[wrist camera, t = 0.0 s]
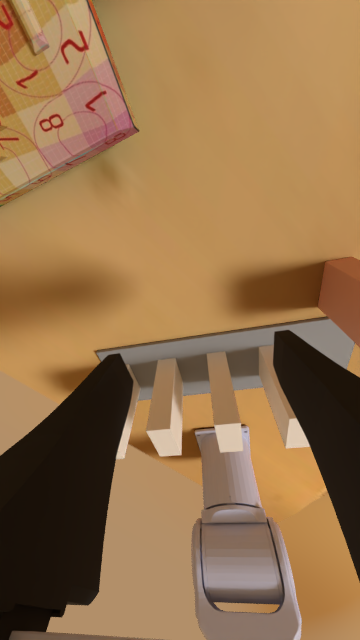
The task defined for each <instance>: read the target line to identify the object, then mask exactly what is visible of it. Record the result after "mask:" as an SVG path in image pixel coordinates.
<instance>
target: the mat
mask: <svg viewBox="0 0 360 640" xmlns="http://www.w3.org/2000/svg"><path fill="white" fill-rule="evenodd" d="M283 330H290V331H292V332H293V333H295V334H296V335H297V336H299V337H300V338H301V339H303V340H304V341H306V342H307V343H308V344H310V345H311V346H312V347H314V348H315V349H317V350H318V351H319V352H321V353H322V354H324V355H325V356H327V357H328V358H330V359H331V360H333V361H334V362H336V363H337V364H339V365H340V366H342V367H343V368H345V369H347V366H348V363H349V360H350V357H351V354H352V351H353V348H354V344H355V342H354V341H353V340H351V339H350V338H349V337H348V336H347V335H346V334H345V333H344V332H343V331H342V330H341V329H340V328H339V327H338V326H337V325H336V324H335V323H334V322H333V321H332V320H331V319H330V318H329V317H323V318H316V319H309V320H303V321H296V322H289V323H282V324H275V325H268V326H261V327H255V328H248V329H241V330H234V331H227V332H220V333H214V334H207V335H200V336H193V337H186V338H179V339H173V340H166V341H159V342H152V343H145V344H138V345H131V346H125V347H118V348H111V349H104V350H98V351H97V352H96V353H97V355H98V357H99V359H100V360H101V362H102V361H103V359H104V358H105V357H107V356H108V355H110V354H118V353H120V354H121V356H122V358H123V361H124V363H125V365H126V364H129V366H130V368H131V370H132V372H133V374H134V376H135V378H136V380H137V382H138V384H139V386H140V393H139V398H138V401H139V400H149V399H152V393H153V387H154V381H155V375H156V369H157V363H158V360H163V359H171V358H175V359H176V362H177V365H178V368H179V372H180V375H181V378H182V381H183V396H186V395H196V394H205V393H211V390H210V381H209V371H208V362H207V354H208V353H216V352H223V351H225V353H226V358H227V362H228V367H229V371H230V376H231V380H232V385H233V390H243V389H253V388H262V387H263V385H262V382H261V379H260V377H259V347H261V346H268V345H274V332H276V331H283Z"/></svg>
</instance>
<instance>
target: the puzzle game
mask: <svg viewBox="0 0 360 640" xmlns="http://www.w3.org/2000/svg"><path fill="white" fill-rule="evenodd" d="M137 132H139V128H138V126H137V123H136V120H135V118H134V115H133V112H132V109H131V107H130V104H129V101H128V98H127V96H126V93H125V90H124V87H123V85H122V82H121V79H120V76H119V74H118V71H117V68H116V66H115V63H114V60H113V57H112V55H111V52H110V49H109V46H108V44H107V41H106V38H105V35H104V33H103V30H102V27H101V25H100V22H99V19H98V16H97V14H96V11H95V8H94V5H93V3H92V0H0V206H2V205H4V204H6V203H8V202H10V201H12V200H13V199H15V198H17V197H19V196H21V195H23V194H24V193H26V192H28V191H30V190H32V189H34V188H36V187H37V186H39V185H41V184H43V183H45V182H47V181H48V180H50V179H52V178H54V177H56V176H58V175H60V174H61V173H63V172H65V171H67V170H69V169H71V168H72V167H74V166H76V165H78V164H80V163H82V162H83V161H85V160H87V159H89V158H91V157H93V156H95V155H96V154H98V153H100V152H102V151H104V150H106V149H107V148H109V147H111V146H113V145H115V144H117V143H119V142H120V141H122V140H124V139H126V138H128V137H130V136H131V135H133V134H135V133H137Z"/></svg>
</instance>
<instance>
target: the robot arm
mask: <svg viewBox="0 0 360 640" xmlns="http://www.w3.org/2000/svg"><path fill="white" fill-rule="evenodd" d="M273 367H274V370H275V373H276V375H277V378H278V381H279V384H280V386H281V388H282V390H283V392H284V394H285V396H286V398H287V400H288V402H289V404H290V406H291V408H292V410H293V412H294V414H295V416H296V418H297V420H298V422H299V424H300V426H301V428H302V430H303V432H304V434H305V436H306V438H307V441H308V443H309V445H310V447H311V450H312V452H313V455H314V457H315V460H316V462H317V465H318V467H319V470H320V472H321V475H322V477H323V480H324V483H325V485H326V488H327V491H328V493H329V496H330V498H331V501H332V504H333V506H334V509H335V512H336V515H337V518H338V521H339V523H340V526H341V529H342V532H343V534H344V537H345V540H346V543H347V546H348V549H349V552H350V554H351V558H352V561H353V563H354V566H355V569H356V572H357V575H358V578H359V581H360V378H359V377H358V376H356V375H355V374H353V373H351V372H350V371H348V370H346V369H345V368H343V367H342V366H340V365H339V364H337V363H336V362H334V361H333V360H331V359H330V358H328V357H327V356H325V355H324V354H322V353H321V352H319V351H318V350H317V349H315V348H314V347H312V346H311V345H310V344H308V343H307V342H306V341H304V340H303V339H301V338H300V337H299V336H297V335H296V334H295V333H293V332H292V331H290V330H283V331H276V332H274V351H273ZM133 382H134V381H133V379H132V377H131V375H130V373H129V371H128V369H127V367H126V365H125V363H124V361H123V358H122V356H121V354H120V353H118V354H110V355H108V356H107V357H105V358H104V359H103V361H102V362H101V363H100V364H99V365H98V366H97V367H96V368H95V369H94V370H93V371H92V372H91V373H90V374H89V375H88V377H87V378H86V379H85V380H84V381H83V382H82V383H81V384H80V385H79V386H78V387H77V388H76V389H75V390H74V391H73V392H72V393H71V394H70V395H69V396H68V397H67V398H66V399H65V400H64V401H63V402H62V403H61V404H60V405H59V406H58V407H57V408H56V409H55V410H54V411H53V412H52V413H51V414H50V415H49V416H48V417H47V418H45V419H44V420H43V421H42V422H41V423H40V424H39V425H38V426H36V427H35V428H34V429H33V430H32V431H31V432H29V433H28V434H27V435H26V436H25V437H24V438H22V439H21V440H20V441H19V442H17V443H16V444H15V445H13V446H12V447H11V448H9V449H8V450H7V451H6V452H4V453H3V454H2V455H1V456H0V640H161V639H145V638H130V637H113V636H99V635H84V634H68V633H67V634H66V633H52V632H46V630H47V627H48V624H49V620H50V617H62V616H63V615H64V612H65V608H66V605H68V604H69V605H89V604H90V603H91V602H92V601H93V600H94V598H95V597H96V596H97V594H98V592H99V584H100V572H101V562H102V552H103V541H104V534H105V525H106V518H107V510H108V504H109V497H110V490H111V483H112V478H113V472H114V467H115V461H116V456H117V452H118V448H119V444H120V440H121V437H122V433H123V429H124V426H125V422H126V418H127V415H128V411H129V407H130V403H131V398H132V391H133ZM241 431H242V442H243V451H237V452H221V453H220V449H219V445H218V440H217V435H216V431H215V428H211V429H199V430H195V436H196V439H197V442H198V445H199V448H200V451H201V457H202V478H203V497H204V498H203V499H204V510H202V512H201V513H202V518H199V519H197V521H196V523H195V524H194V526H193V531H192V574H193V583H194V589H195V612H196V617H197V619H198V624H199V628H200V630H201V632H202V633H203V635H204V637H205V638H206V639H207V640H300V638H301V624H302V620H301V615H300V611H299V607H298V603H297V598H296V592H295V585H294V580H293V575H292V571H291V566H290V562H289V558H288V554H287V551H286V547H285V543H284V540H283V537H282V534H281V531H280V528H279V526H278V524H277V523H276V522H275V521H274V520H273V518H272V517H267V518H266V514H265V510H264V508H262V506H261V501H260V497H259V492H258V488H257V484H256V479H255V475H254V470H253V466H252V462H251V457H250V439H249V428H248V426H241ZM214 602H228V603H254V604H255V603H256V604H280V606H279V607H278V609H277V610H276V611H275V612H272V613H247V612H226V611H223V610H220V609H219V608H217V606H216V605H215V604H214Z"/></svg>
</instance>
